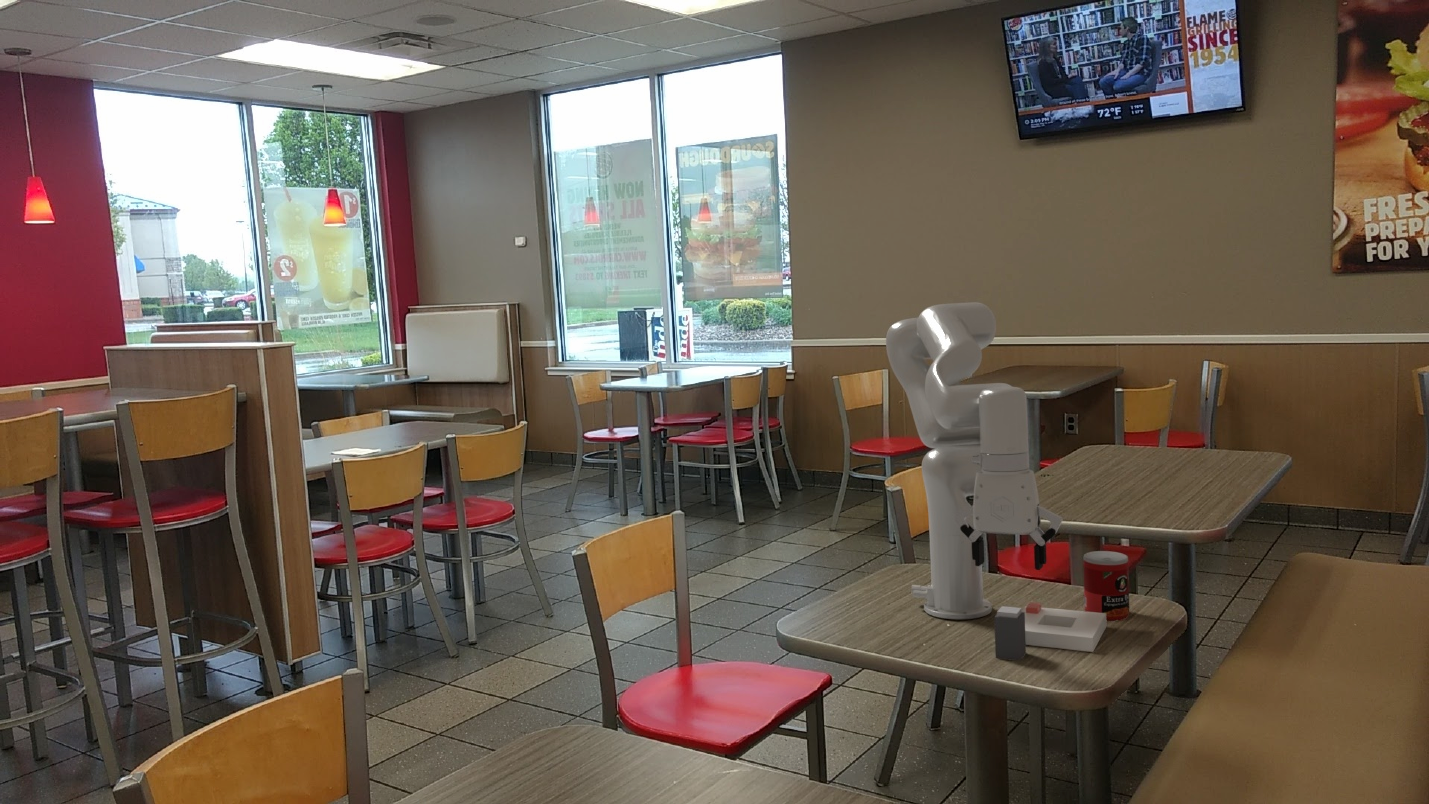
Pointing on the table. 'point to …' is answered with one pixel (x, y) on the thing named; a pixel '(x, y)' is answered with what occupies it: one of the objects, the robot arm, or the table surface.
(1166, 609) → the table surface
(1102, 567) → the canned food
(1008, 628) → the plug
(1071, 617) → the socket plate
